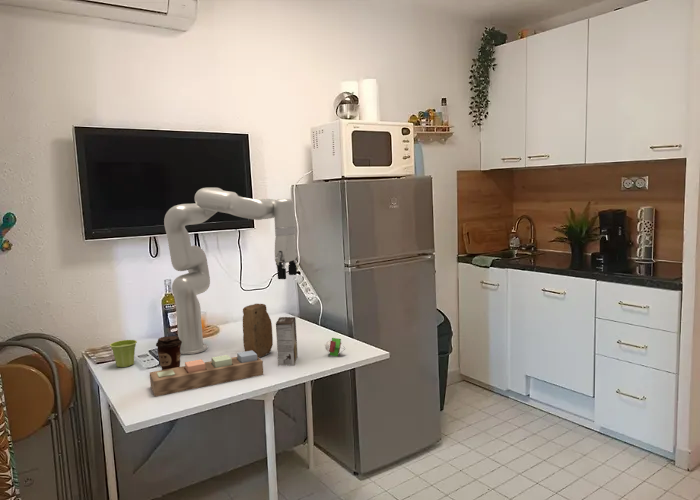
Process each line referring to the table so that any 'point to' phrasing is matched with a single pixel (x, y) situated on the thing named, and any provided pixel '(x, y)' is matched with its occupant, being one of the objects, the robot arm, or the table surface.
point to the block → (257, 329)
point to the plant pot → (124, 352)
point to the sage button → (221, 361)
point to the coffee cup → (169, 352)
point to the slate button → (246, 356)
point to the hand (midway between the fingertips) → (287, 276)
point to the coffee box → (286, 341)
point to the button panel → (202, 376)
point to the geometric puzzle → (334, 346)
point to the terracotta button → (194, 366)
